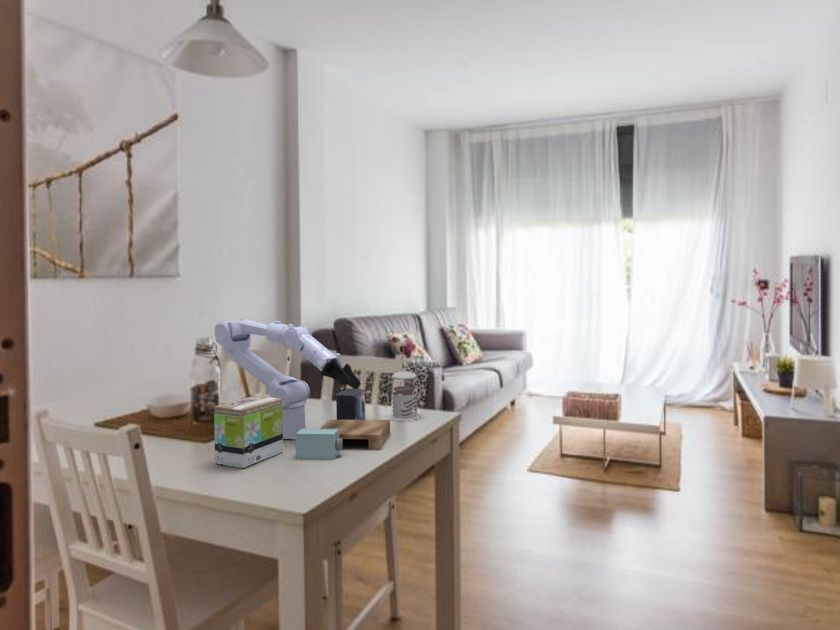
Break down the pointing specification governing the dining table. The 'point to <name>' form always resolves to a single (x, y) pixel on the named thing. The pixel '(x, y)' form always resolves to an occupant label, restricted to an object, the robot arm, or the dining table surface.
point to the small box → (351, 404)
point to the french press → (404, 396)
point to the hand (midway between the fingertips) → (353, 384)
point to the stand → (362, 430)
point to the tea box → (248, 431)
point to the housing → (318, 443)
